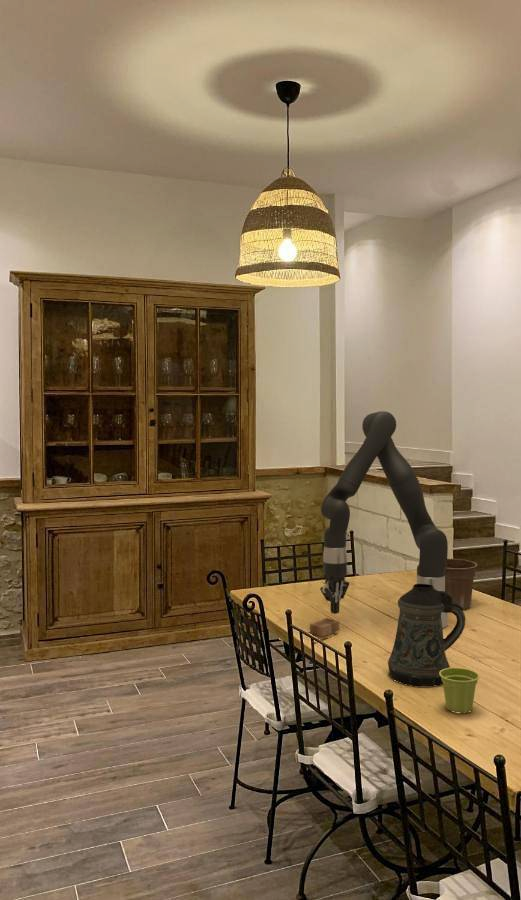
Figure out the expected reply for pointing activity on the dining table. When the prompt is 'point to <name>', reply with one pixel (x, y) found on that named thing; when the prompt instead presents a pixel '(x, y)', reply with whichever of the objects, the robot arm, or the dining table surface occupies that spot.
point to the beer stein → (423, 636)
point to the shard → (323, 637)
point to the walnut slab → (324, 627)
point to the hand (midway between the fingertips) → (335, 613)
